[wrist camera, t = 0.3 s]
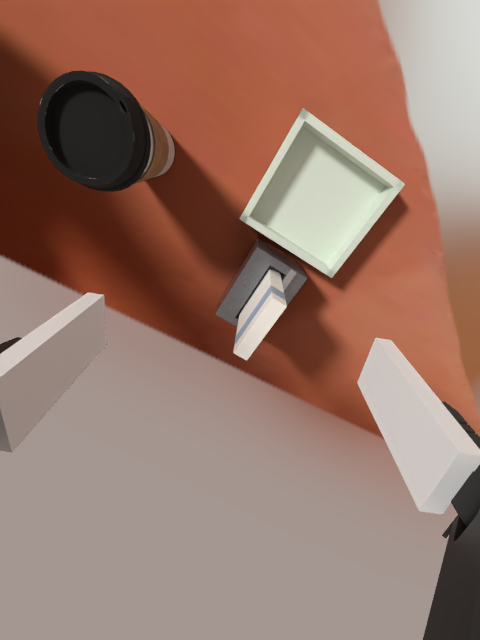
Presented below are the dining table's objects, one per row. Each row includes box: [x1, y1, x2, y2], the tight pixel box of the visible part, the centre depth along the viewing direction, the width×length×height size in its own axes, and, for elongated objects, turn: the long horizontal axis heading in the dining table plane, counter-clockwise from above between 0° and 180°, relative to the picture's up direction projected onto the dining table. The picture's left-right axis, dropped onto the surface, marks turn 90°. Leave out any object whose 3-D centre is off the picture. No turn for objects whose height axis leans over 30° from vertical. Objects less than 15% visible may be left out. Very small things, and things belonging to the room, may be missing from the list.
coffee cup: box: [38, 71, 175, 192], centre depth 29 cm, size 8×8×15 cm
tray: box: [240, 108, 405, 278], centre depth 36 cm, size 14×13×4 cm
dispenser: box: [215, 238, 307, 327], centre depth 39 cm, size 7×10×7 cm
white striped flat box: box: [233, 266, 287, 360], centre depth 35 cm, size 2×7×14 cm, turn 149°
